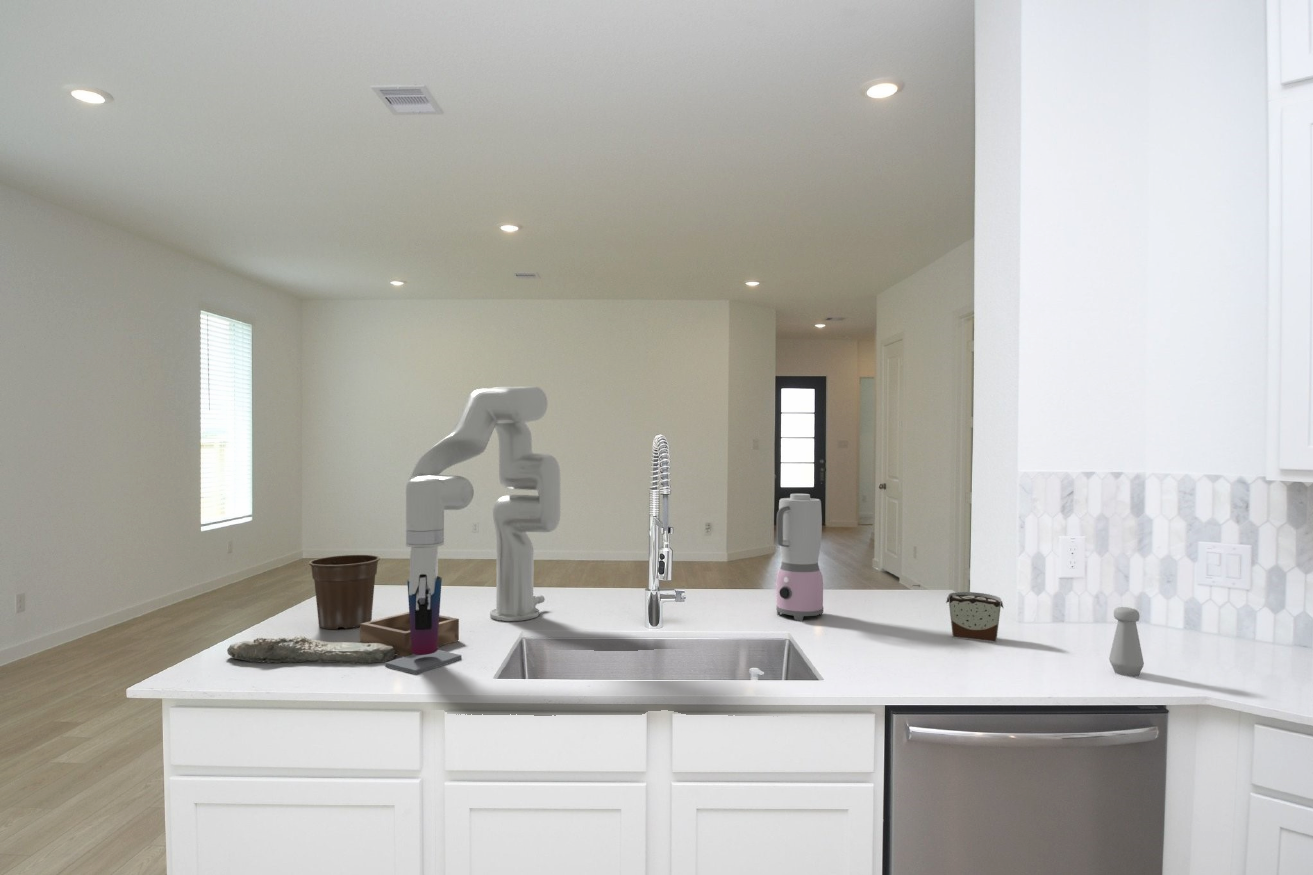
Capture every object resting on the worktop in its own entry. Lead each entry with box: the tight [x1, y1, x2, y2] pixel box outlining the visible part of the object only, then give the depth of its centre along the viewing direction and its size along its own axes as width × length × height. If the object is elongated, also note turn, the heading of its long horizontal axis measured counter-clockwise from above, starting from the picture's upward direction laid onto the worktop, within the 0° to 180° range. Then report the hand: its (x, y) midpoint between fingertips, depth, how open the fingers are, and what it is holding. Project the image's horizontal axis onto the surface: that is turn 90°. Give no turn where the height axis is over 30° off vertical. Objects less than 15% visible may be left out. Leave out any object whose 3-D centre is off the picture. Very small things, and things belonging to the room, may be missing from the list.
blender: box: [775, 493, 824, 621], centre depth 192 cm, size 16×12×32 cm
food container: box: [945, 591, 1005, 643], centre depth 173 cm, size 12×6×10 cm, turn 65°
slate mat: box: [384, 649, 462, 675], centre depth 151 cm, size 12×9×1 cm
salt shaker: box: [1108, 606, 1145, 678], centre depth 146 cm, size 6×6×13 cm
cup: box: [406, 575, 443, 655], centre depth 151 cm, size 7×7×15 cm
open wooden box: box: [359, 611, 460, 657], centre depth 165 cm, size 15×15×5 cm
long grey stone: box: [226, 635, 396, 664], centre depth 154 cm, size 35×5×10 cm
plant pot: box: [308, 554, 381, 630], centre depth 182 cm, size 16×16×16 cm
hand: (424, 624), depth 151 cm, fingers closed on cup, 6 cm apart
